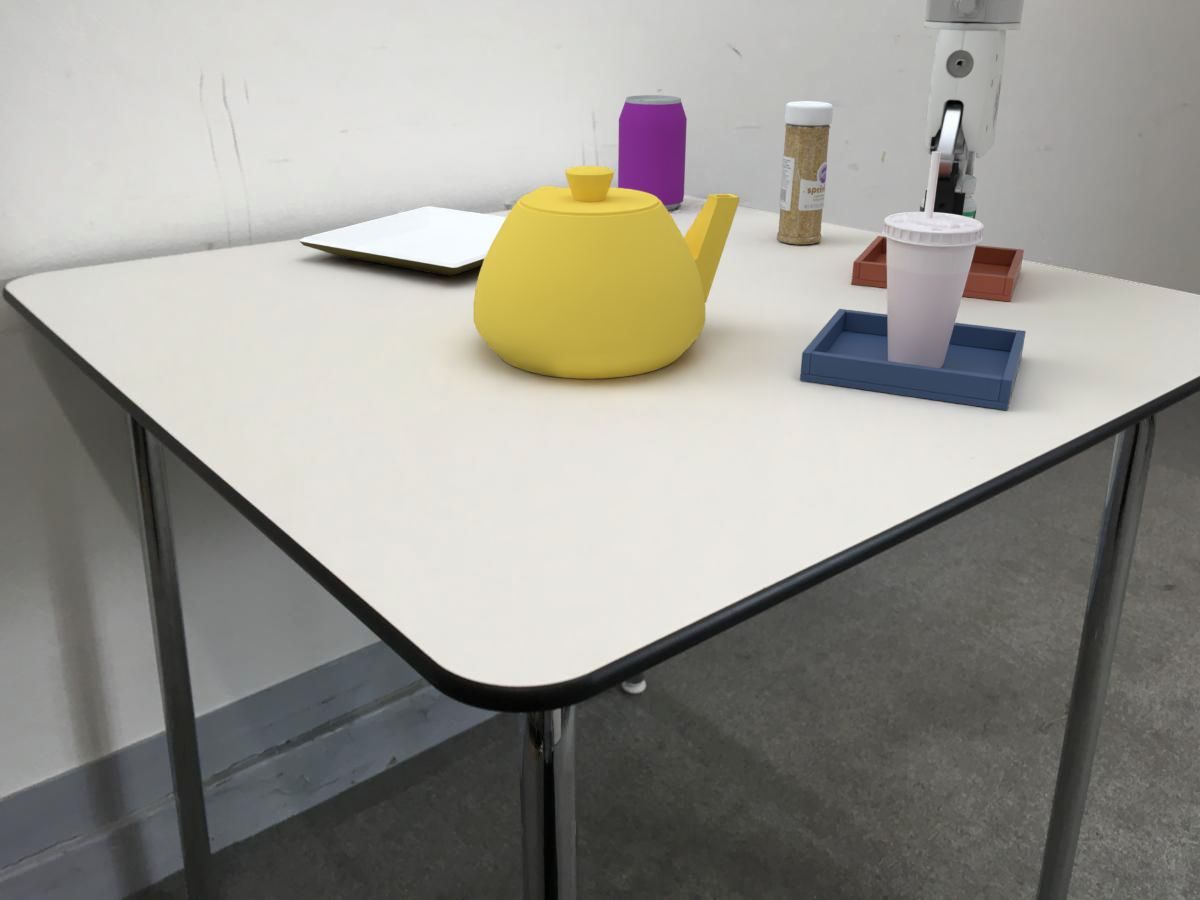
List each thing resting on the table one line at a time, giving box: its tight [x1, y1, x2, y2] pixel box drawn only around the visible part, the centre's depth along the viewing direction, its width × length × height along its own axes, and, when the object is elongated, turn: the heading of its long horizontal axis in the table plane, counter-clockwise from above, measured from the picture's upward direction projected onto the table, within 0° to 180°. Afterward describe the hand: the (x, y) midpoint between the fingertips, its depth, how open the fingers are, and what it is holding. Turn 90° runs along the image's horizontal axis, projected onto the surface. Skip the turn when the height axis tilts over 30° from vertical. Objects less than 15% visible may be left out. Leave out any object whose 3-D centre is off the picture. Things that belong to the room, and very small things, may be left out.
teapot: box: [473, 165, 741, 380], centre depth 78 cm, size 20×19×13 cm
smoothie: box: [881, 151, 985, 368], centre depth 72 cm, size 6×6×14 cm
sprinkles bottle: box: [776, 100, 834, 246], centre depth 108 cm, size 5×5×13 cm
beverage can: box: [617, 94, 688, 211], centre depth 124 cm, size 8×8×12 cm
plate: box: [298, 205, 507, 277], centre depth 105 cm, size 19×19×2 cm
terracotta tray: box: [850, 235, 1025, 302], centre depth 97 cm, size 13×11×2 cm
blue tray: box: [799, 308, 1027, 411], centre depth 75 cm, size 13×11×2 cm
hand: (944, 229), depth 96 cm, fingers open, 5 cm apart
